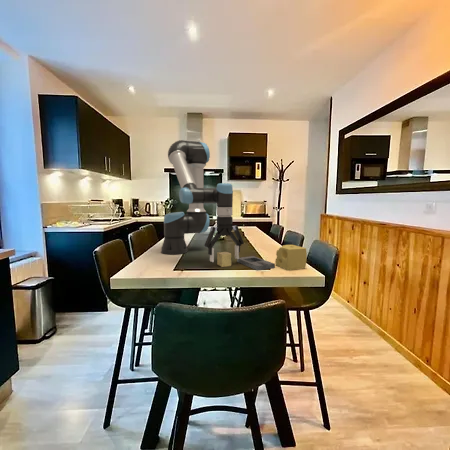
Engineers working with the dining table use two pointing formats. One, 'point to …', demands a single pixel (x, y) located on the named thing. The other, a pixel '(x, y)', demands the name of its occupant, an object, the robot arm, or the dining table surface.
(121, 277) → the dining table surface
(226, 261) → the yellow cube
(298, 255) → the cheese
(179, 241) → the robot arm
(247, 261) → the metal plate
